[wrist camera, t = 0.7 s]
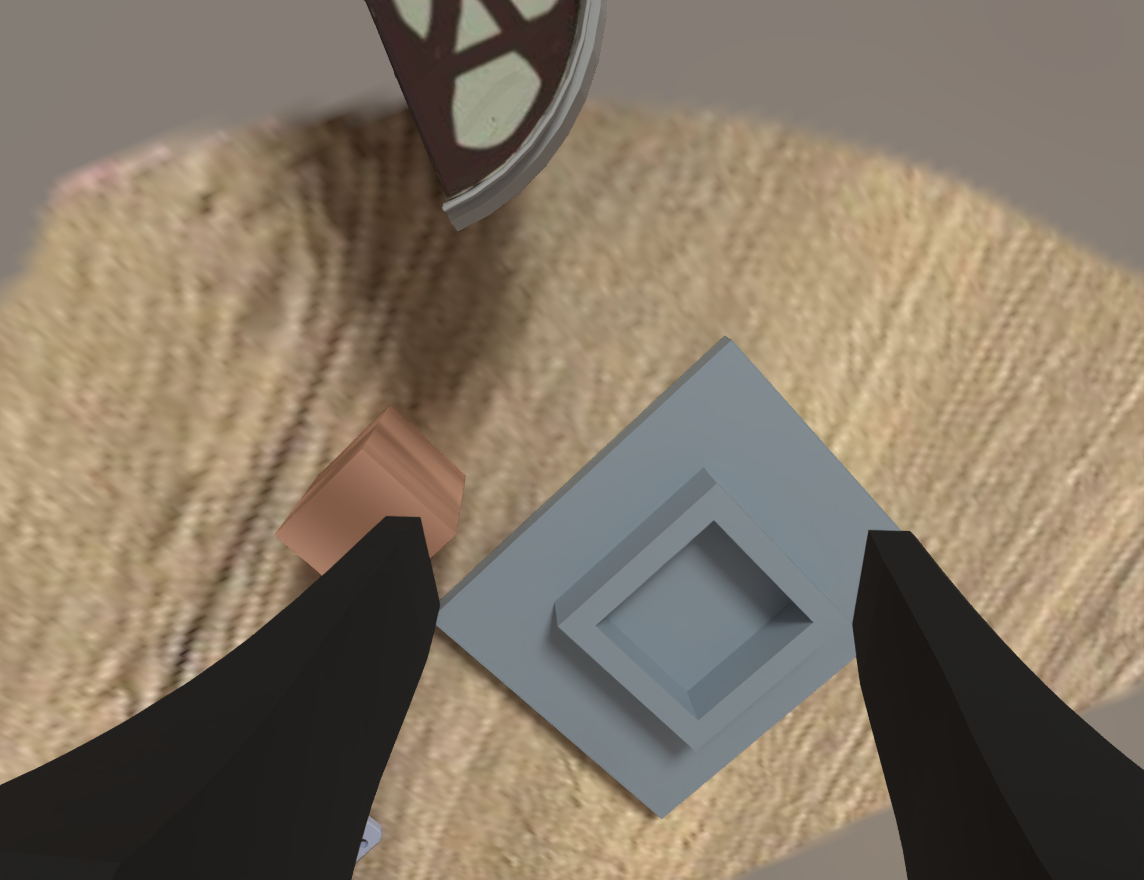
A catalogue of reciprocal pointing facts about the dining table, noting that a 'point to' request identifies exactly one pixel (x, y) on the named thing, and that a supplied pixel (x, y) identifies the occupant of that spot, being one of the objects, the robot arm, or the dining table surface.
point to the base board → (678, 583)
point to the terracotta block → (375, 493)
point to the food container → (491, 87)
